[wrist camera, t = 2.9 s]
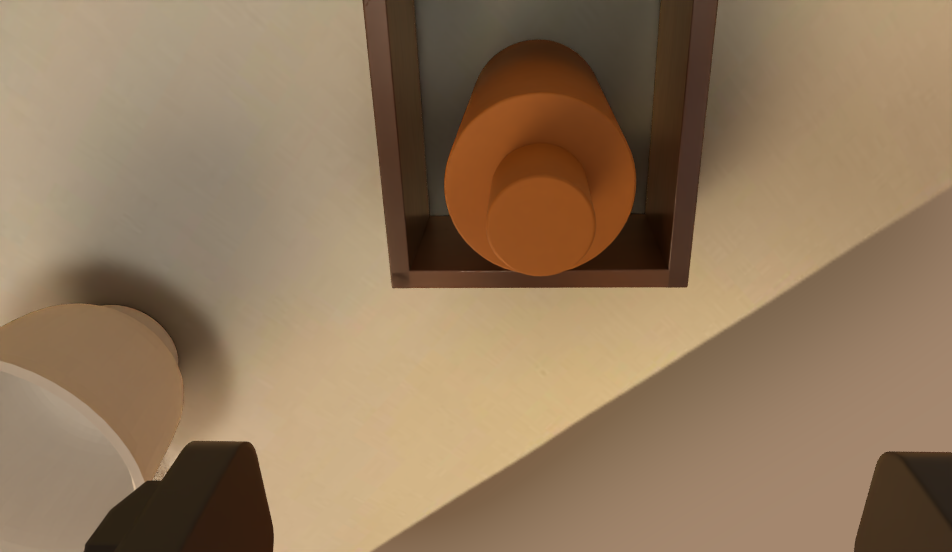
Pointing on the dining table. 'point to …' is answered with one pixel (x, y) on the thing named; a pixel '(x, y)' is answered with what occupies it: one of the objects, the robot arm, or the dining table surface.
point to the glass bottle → (539, 163)
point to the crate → (644, 235)
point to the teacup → (80, 419)
